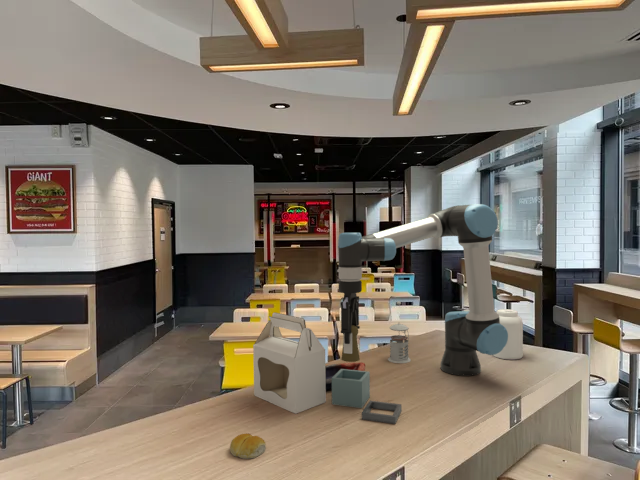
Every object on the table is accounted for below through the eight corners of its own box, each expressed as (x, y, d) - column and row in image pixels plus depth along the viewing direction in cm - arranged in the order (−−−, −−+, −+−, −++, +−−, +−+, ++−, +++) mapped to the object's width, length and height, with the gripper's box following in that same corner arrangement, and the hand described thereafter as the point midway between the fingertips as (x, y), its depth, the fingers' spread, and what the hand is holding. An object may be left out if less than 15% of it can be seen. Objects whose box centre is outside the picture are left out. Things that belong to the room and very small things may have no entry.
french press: (383, 360, 193) (382, 301, 192) (397, 354, 202) (397, 298, 201) (403, 364, 187) (403, 304, 186) (417, 358, 196) (416, 300, 195)
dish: (287, 385, 164) (286, 371, 164) (353, 369, 182) (353, 357, 182) (310, 398, 152) (310, 383, 152) (379, 380, 169) (379, 366, 169)
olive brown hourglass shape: (358, 362, 145) (358, 328, 145) (339, 361, 146) (339, 327, 146) (360, 357, 151) (360, 324, 151) (342, 356, 152) (342, 323, 152)
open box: (369, 396, 152) (369, 371, 152) (362, 408, 143) (361, 381, 142) (341, 393, 155) (341, 368, 155) (331, 404, 146) (331, 378, 146)
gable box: (253, 395, 155) (252, 313, 154) (283, 385, 164) (282, 308, 163) (296, 414, 139) (294, 323, 138) (326, 402, 148) (325, 317, 147)
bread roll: (244, 440, 122) (244, 426, 122) (270, 449, 117) (270, 434, 117) (222, 453, 115) (222, 438, 115) (249, 463, 110) (248, 447, 110)
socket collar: (401, 410, 140) (401, 404, 140) (395, 424, 131) (395, 417, 131) (369, 406, 144) (369, 400, 144) (361, 419, 134) (361, 412, 134)
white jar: (519, 352, 202) (519, 308, 201) (525, 361, 190) (525, 313, 189) (489, 351, 205) (489, 307, 204) (493, 359, 193) (493, 312, 192)
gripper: (347, 276, 158) (347, 343, 158) (330, 282, 141) (330, 357, 141) (368, 277, 155) (368, 344, 156) (353, 283, 138) (353, 359, 139)
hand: (350, 350), depth 148 cm, fingers closed on olive brown hourglass shape, 5 cm apart
